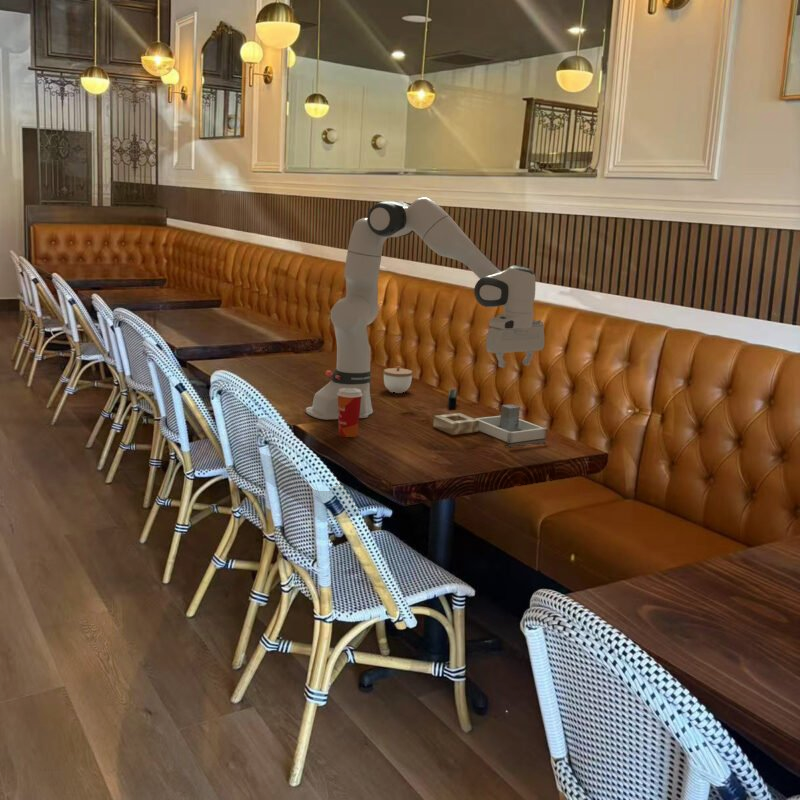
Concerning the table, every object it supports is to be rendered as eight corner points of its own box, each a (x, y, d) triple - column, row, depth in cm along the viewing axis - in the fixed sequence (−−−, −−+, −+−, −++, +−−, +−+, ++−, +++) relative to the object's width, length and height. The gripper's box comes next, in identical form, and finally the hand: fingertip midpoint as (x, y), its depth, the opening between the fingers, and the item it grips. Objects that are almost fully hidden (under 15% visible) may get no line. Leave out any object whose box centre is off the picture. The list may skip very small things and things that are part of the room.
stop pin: (507, 436, 268) (509, 408, 266) (499, 433, 271) (501, 405, 269) (517, 435, 270) (519, 407, 268) (509, 432, 273) (511, 404, 271)
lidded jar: (399, 395, 319) (401, 370, 317) (376, 390, 325) (377, 366, 323) (417, 391, 327) (418, 367, 325) (394, 386, 333) (395, 362, 331)
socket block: (451, 439, 265) (452, 423, 264) (433, 431, 274) (433, 415, 272) (477, 436, 271) (478, 420, 269) (458, 428, 279) (459, 412, 278)
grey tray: (508, 447, 260) (510, 433, 259) (472, 432, 274) (473, 418, 273) (544, 442, 267) (545, 428, 266) (507, 428, 282) (508, 414, 281)
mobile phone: (457, 397, 300) (457, 386, 315) (448, 396, 301) (448, 386, 315) (456, 411, 302) (456, 400, 316) (447, 410, 302) (447, 399, 316)
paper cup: (335, 431, 268) (336, 386, 264) (360, 432, 268) (362, 387, 265) (335, 438, 260) (337, 392, 257) (361, 439, 261) (363, 393, 258)
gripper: (537, 318, 270) (533, 362, 274) (484, 320, 260) (481, 366, 263) (551, 321, 265) (546, 366, 268) (498, 323, 254) (494, 370, 258)
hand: (513, 366), depth 265 cm, fingers open, 8 cm apart
